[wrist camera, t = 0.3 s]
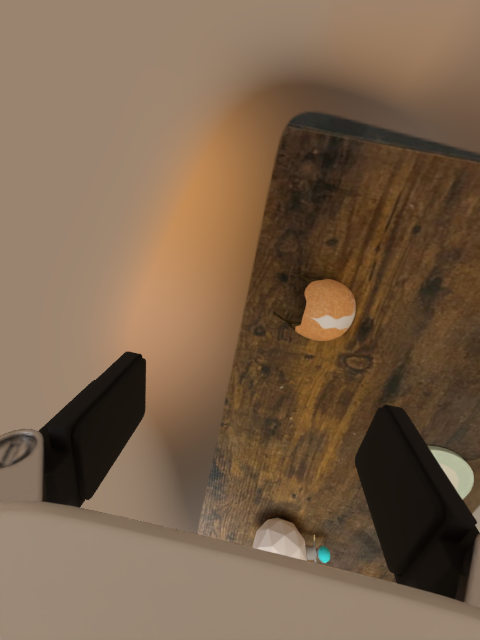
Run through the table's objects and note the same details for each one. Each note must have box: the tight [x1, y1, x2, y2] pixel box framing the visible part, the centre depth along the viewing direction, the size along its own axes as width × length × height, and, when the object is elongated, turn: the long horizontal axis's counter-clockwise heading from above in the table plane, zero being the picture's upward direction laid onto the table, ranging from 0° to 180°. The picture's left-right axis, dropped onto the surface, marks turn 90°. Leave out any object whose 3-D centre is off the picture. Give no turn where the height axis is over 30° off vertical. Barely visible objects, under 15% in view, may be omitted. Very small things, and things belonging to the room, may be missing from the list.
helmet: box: [273, 272, 356, 341], centre depth 26 cm, size 6×7×8 cm
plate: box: [427, 445, 474, 499], centre depth 35 cm, size 12×12×1 cm
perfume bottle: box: [252, 518, 330, 563], centre depth 39 cm, size 8×8×12 cm
